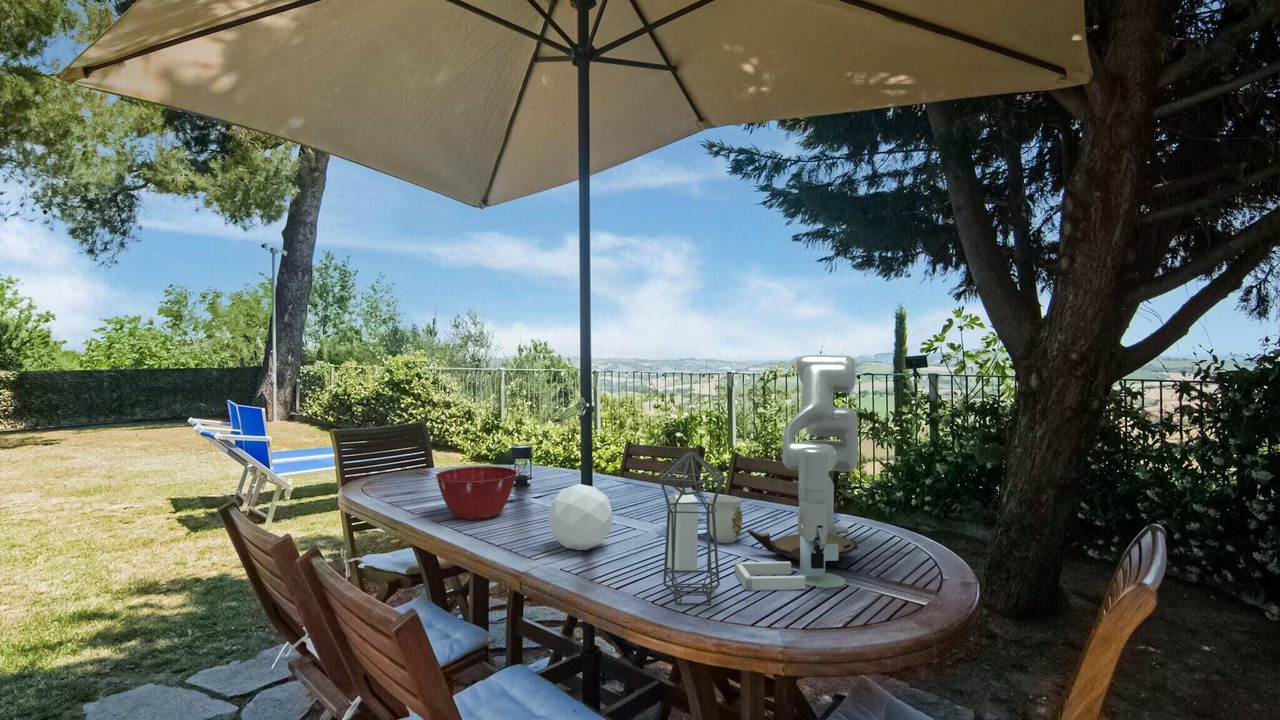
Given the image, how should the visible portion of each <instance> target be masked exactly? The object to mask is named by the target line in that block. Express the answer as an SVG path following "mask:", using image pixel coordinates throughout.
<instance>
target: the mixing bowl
mask: <svg viewBox="0 0 1280 720" xmlns="http://www.w3.org/2000/svg"><path fill="white" fill-rule="evenodd" d="M517 474H518V471H517V470H515V469H513V468H510V467H509V468H508V467H503V466H470V467H469V466H468V467H458V468H453V469H447V470H443V471H440V472H438V473H436V475H435V478H436V480H437V483H438V487H439V490H440V493H441V496H442V498H443V501H444V503H445V505H446V507H447V508H448V510H449V511H450V513H452V515H454V516H456V517H457V518H459V517H460V518H459V519H461V518H464V519H463V520H466V519H480V520H485V518H487V519H491V518H493V517H495V516H497V514H499V513H500V512H501V511H502V510H503V509H504V507H505V506H506V505H507V502H508V501H509V498H510V495H511V494H512V490H513V487H514V484H515V480H516V476H517Z"/></svg>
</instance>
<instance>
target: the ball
mask: <svg viewBox="0 0 1280 720" xmlns="http://www.w3.org/2000/svg"><path fill="white" fill-rule="evenodd" d="M613 516H614V515H613V510H612V507H611V503H610V500H609V497H608V495H606V494H605V493H603V492H602V491H601V490H599V489H598V488H596V487H595V486H591V485H586V484H582V483H581V484H580V483H577V484H574V485H571V486H568V487H565V488H563V489H561V490H560V491H559V493H558V494H557V496H556V497H555V498H554V500H553V501H552V502H551V504H550V508H549V513H548V517H547V520H548V524H549V528H550V531H551V534H552V537H553V538H554V539H555V540H556V541H557V542H558V543H560V544H561V545H562V546H563V547H565V548H567V549H572V550H574V551H575V550H576V551H580V550H585V551H587V550H590V549H592V548H595V547H597V546H600V545H601V544H602V542H603V541H604V540H605V539H606V538H607V536H608V535H609V533H610V532H611V531H612V523H613Z"/></svg>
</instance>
